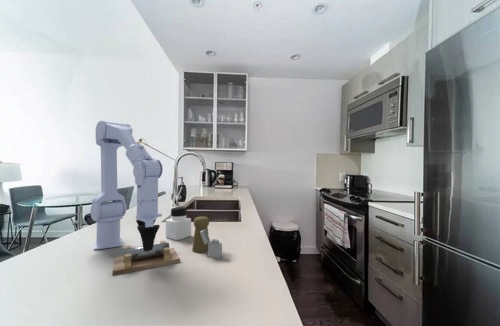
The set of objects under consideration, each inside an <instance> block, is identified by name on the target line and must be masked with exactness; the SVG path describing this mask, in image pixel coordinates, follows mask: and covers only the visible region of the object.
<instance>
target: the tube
mask: <svg viewBox="0 0 500 326" xmlns="http://www.w3.org/2000/svg"><path fill="white" fill-rule="evenodd" d="M167 247H169V248H170V243H169V242H166V243H161V244H160V243H157V244H156V243H154V245H153V248H152V250H149V251H144V249H143V245H142V246H135V247H131V248H128V249H125V248H124V249H123V256H124V263H125V254H130V253H131V261H136V260H142V259H147V258H153V257H159V256H163V249H164V248H167Z"/></svg>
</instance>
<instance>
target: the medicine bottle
mask: <svg viewBox="0 0 500 326" xmlns="http://www.w3.org/2000/svg"><path fill="white" fill-rule="evenodd" d="M187 214H188V213H187V207H185V206H183V205H182V206H181V205H180V206H173V207H172V208H171V209H170V218H168V219H166V220H165V238H166V239H170V240H173V241H174V240H175V241H180V240H183V239H186V238H189V237H191V236H192V218H190V217H187ZM188 236H189V237H188Z"/></svg>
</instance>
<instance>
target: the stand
mask: <svg viewBox="0 0 500 326" xmlns="http://www.w3.org/2000/svg"><path fill="white" fill-rule="evenodd" d="M161 243H167V241H166V240H160V243H159V244H161ZM128 248H132V245H125V246H124V249H128ZM180 262H181V258H180V256H179V254H178V253H177V251H176V250H175V248H174V247H170V246H169V247H167V248H164V249H163V256H159V257H153V258H147V259H142V260H136V261H131V253H130V254H125V263H124V255H122V256H121V255H120V256H117V257H114V258H113V265H112V271H111V273H112V276H116V275H120V274H126V273H130V272H135V271H140V270H146V269H151V268H155V267H160V266H161V267H162V266H166V265H171V264H176V263H180Z"/></svg>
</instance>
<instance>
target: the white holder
mask: <svg viewBox="0 0 500 326" xmlns="http://www.w3.org/2000/svg"><path fill="white" fill-rule="evenodd" d="M200 234H201V237H202V239H203V242H204V244H207V243H208V251H207V257H208V258H215V259H221V258H222V257H223V242H220V240H219V239H216V238H212V239H210V236H208V235H209V233H208V234H207V231H206V229H205V230H203V231H201V232H200Z"/></svg>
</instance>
